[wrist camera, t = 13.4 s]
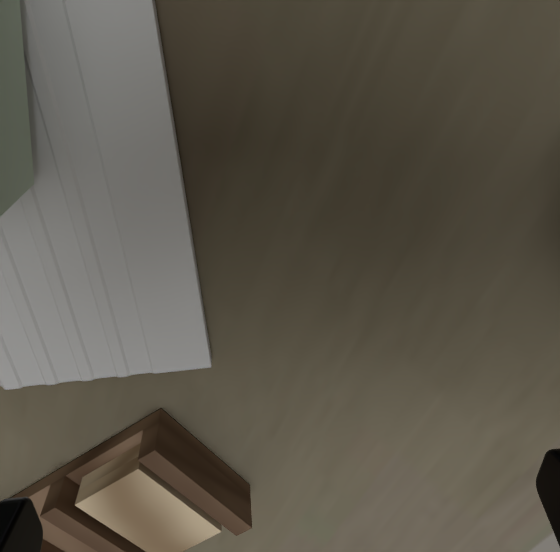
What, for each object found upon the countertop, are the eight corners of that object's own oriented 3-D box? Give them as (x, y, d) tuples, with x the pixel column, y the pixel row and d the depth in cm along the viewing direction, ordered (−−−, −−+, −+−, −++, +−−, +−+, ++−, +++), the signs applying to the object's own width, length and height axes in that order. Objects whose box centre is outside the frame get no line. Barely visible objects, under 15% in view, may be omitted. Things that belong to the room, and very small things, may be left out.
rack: (161, 408, 25) (154, 450, 23) (249, 484, 28) (251, 528, 26) (-7, 508, 27) (-28, 555, 25) (94, 567, 31) (83, 613, 29)
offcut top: (140, 454, 24) (138, 468, 23) (221, 517, 27) (221, 531, 26) (78, 490, 25) (74, 505, 24) (163, 547, 28) (162, 562, 27)
